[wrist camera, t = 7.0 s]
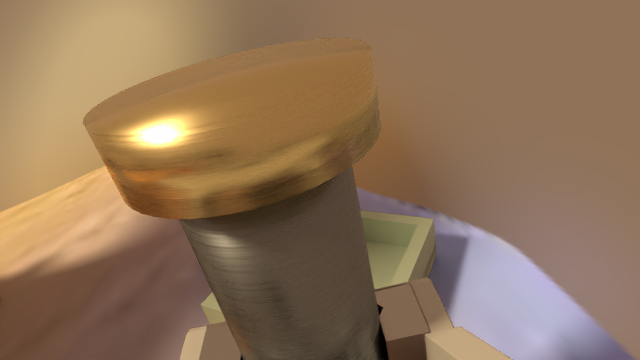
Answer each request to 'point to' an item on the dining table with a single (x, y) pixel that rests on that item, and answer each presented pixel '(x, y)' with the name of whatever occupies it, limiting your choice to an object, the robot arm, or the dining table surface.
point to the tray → (382, 252)
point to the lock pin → (261, 187)
